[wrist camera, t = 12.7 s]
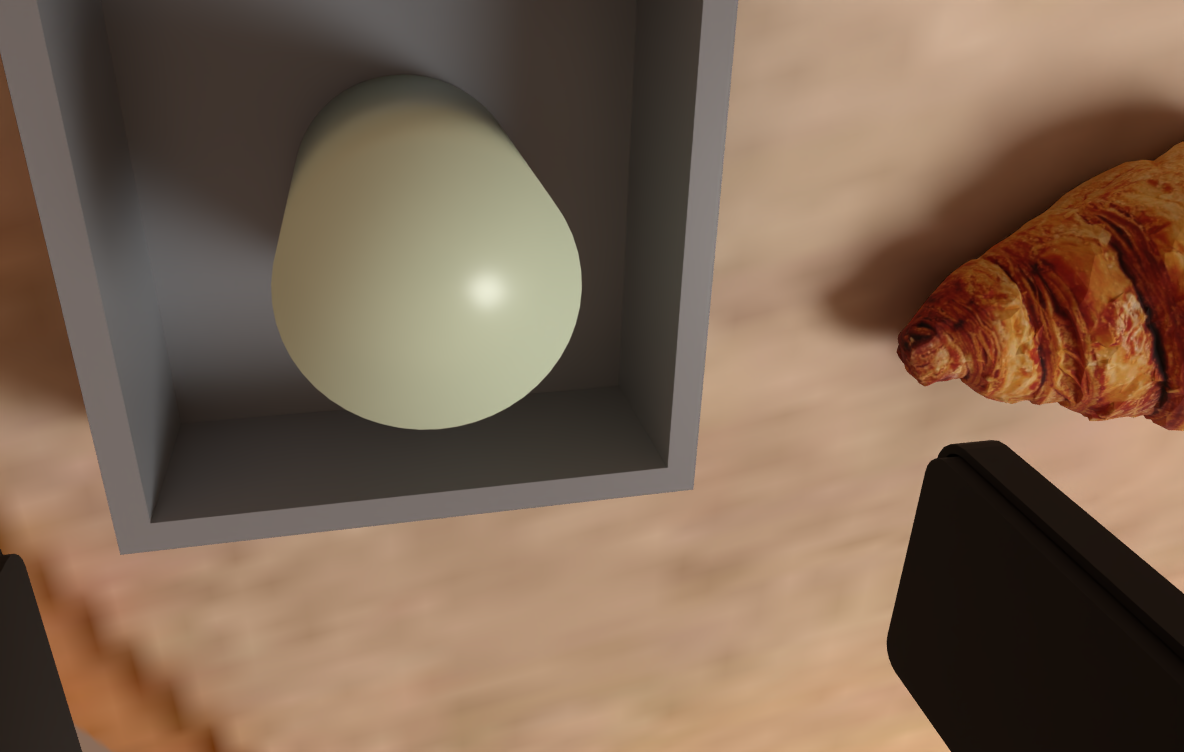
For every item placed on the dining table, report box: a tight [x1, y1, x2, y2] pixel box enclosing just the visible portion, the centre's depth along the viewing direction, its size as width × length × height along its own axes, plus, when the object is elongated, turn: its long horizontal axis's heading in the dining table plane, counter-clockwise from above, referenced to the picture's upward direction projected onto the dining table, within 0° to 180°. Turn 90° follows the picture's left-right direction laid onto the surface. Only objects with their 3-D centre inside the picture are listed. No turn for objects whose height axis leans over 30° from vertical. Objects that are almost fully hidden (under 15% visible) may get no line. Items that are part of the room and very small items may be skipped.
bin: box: [0, 0, 738, 555], centre depth 23 cm, size 15×15×6 cm
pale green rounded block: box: [271, 74, 582, 430], centre depth 22 cm, size 6×6×8 cm
